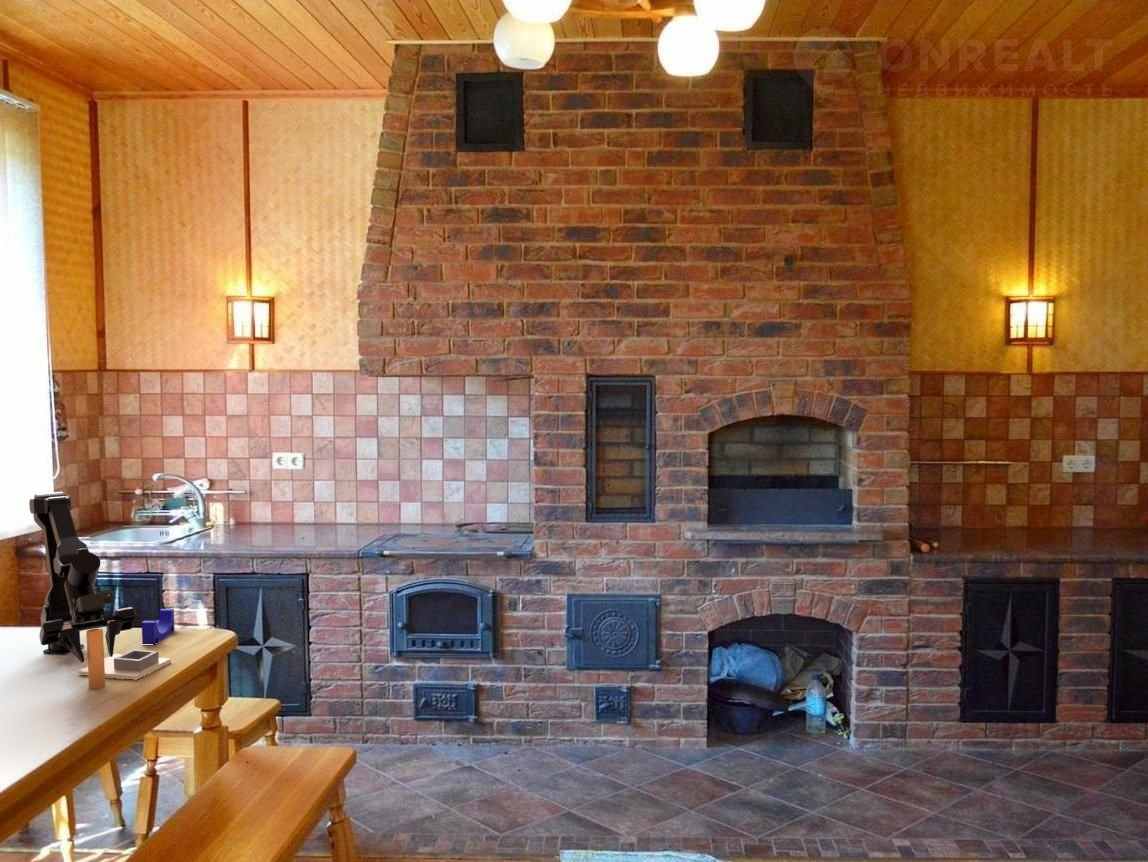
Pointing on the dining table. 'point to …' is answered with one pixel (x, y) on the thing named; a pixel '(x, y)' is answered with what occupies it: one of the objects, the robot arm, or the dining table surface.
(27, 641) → the dining table surface
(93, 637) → the toggle bar
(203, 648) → the dining table surface
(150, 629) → the cable clip
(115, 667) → the keeper plate
